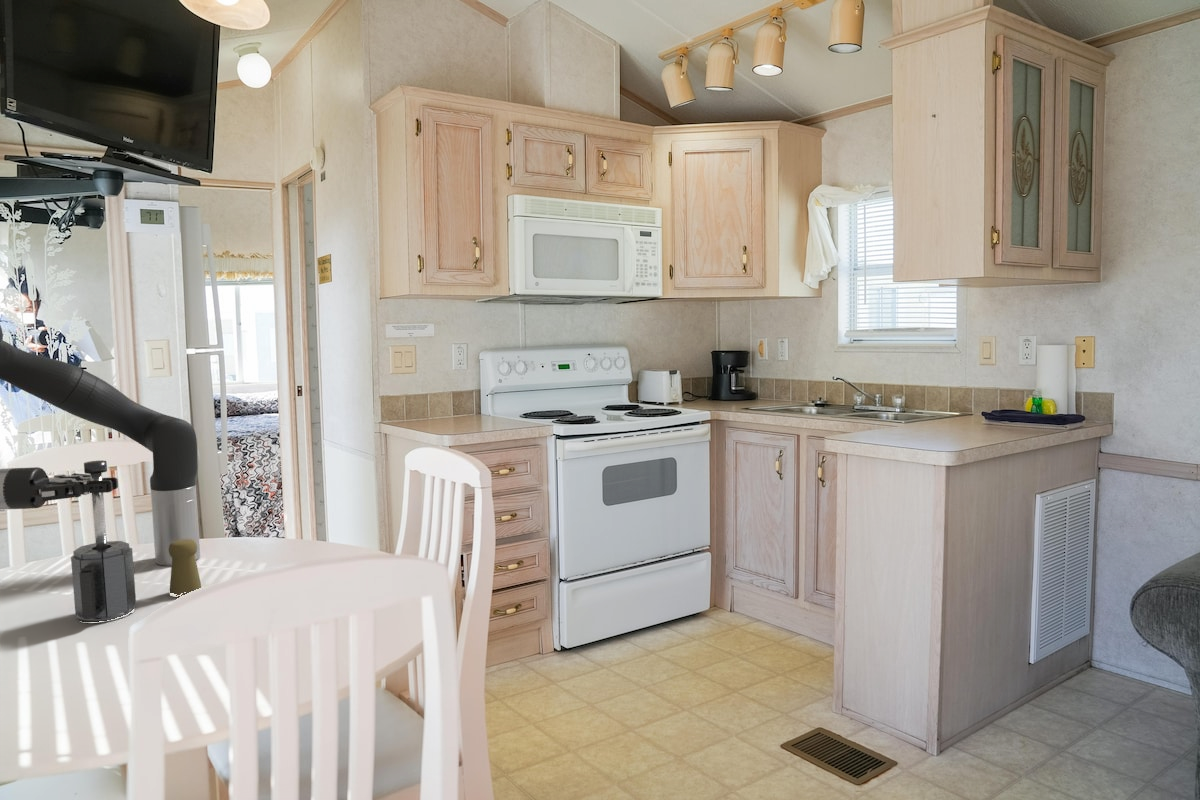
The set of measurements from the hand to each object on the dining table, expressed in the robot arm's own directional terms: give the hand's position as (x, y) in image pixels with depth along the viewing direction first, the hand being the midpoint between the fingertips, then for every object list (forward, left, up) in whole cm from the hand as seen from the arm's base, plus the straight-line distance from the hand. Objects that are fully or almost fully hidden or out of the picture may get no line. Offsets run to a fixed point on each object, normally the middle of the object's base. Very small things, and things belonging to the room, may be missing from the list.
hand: (114, 484), depth 153 cm
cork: (-10, +8, -25) cm, 28 cm away
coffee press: (+1, -3, -25) cm, 25 cm away
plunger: (0, -3, -17) cm, 17 cm away
